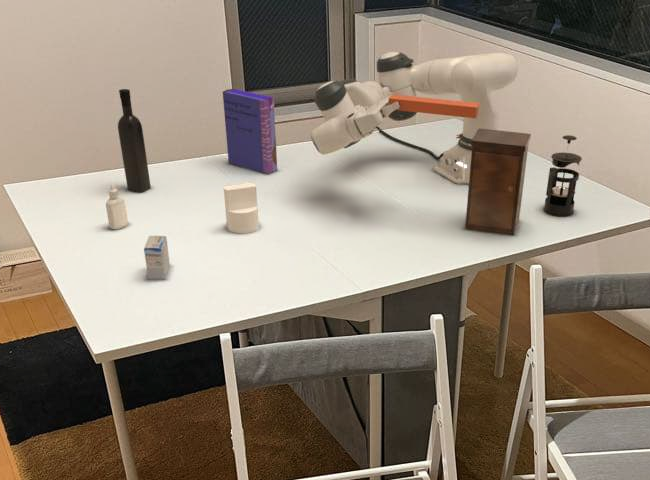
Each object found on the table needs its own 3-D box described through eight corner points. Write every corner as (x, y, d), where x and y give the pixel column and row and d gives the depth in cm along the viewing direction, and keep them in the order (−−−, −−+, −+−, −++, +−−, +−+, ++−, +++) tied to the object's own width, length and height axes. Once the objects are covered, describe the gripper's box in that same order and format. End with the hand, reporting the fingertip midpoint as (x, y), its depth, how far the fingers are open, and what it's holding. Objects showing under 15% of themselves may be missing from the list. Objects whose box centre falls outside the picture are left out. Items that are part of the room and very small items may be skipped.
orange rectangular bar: (388, 109, 230) (388, 98, 229) (392, 105, 234) (392, 94, 232) (475, 118, 226) (476, 107, 224) (478, 114, 229) (479, 103, 228)
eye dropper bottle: (131, 227, 234) (124, 186, 227) (111, 230, 231) (104, 189, 225) (126, 221, 237) (119, 181, 230) (107, 225, 234) (99, 184, 228)
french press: (581, 215, 252) (593, 140, 239) (555, 219, 249) (567, 143, 236) (559, 202, 261) (570, 128, 248) (534, 205, 258) (544, 131, 245)
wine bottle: (126, 190, 257) (110, 91, 240) (137, 184, 262) (122, 86, 245) (141, 193, 256) (126, 93, 239) (152, 187, 260) (138, 89, 243)
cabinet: (463, 230, 240) (470, 141, 225) (471, 214, 250) (478, 128, 235) (514, 237, 237) (525, 147, 222) (520, 220, 247) (530, 133, 232)
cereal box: (277, 170, 277) (273, 97, 263) (268, 174, 273) (263, 100, 260) (238, 160, 284) (232, 88, 270) (228, 163, 281) (222, 90, 267)
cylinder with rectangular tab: (232, 235, 232) (229, 194, 225) (223, 223, 238) (219, 183, 231) (263, 230, 235) (260, 189, 228) (252, 219, 242) (249, 179, 235)
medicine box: (153, 266, 214) (148, 235, 209) (170, 266, 214) (166, 235, 209) (148, 280, 207) (143, 248, 202) (166, 279, 208) (161, 248, 203)
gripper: (375, 122, 246) (415, 102, 240) (355, 142, 230) (397, 121, 224) (365, 102, 244) (405, 82, 237) (344, 121, 227) (387, 99, 221)
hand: (401, 101), depth 230 cm, fingers closed on orange rectangular bar, 4 cm apart
